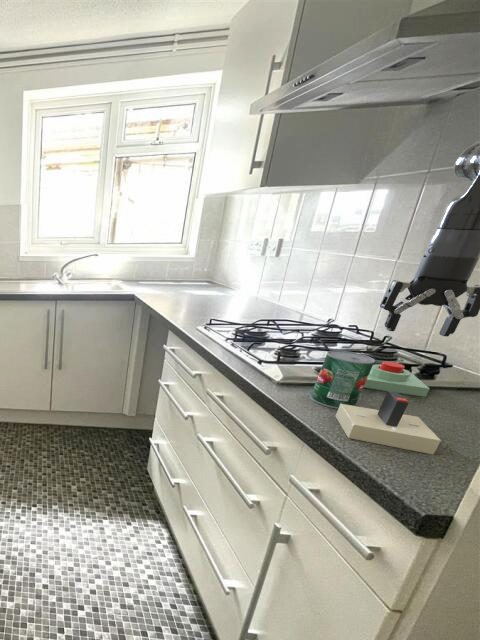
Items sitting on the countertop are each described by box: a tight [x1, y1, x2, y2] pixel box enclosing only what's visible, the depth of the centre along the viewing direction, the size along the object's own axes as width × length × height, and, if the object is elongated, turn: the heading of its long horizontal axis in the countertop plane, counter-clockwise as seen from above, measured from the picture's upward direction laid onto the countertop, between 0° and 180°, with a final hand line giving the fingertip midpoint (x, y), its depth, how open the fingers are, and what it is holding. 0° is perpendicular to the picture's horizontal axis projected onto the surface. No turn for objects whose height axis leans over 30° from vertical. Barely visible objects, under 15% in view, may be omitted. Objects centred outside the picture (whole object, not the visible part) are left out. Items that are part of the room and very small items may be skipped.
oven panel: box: [335, 404, 442, 456], centre depth 80 cm, size 12×10×3 cm
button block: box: [363, 363, 430, 398], centre depth 102 cm, size 12×10×4 cm
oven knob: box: [378, 391, 409, 427], centre depth 78 cm, size 5×2×5 cm, turn 152°
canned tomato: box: [309, 350, 376, 410], centre depth 91 cm, size 8×8×11 cm
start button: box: [380, 361, 405, 373], centre depth 101 cm, size 4×4×2 cm
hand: (416, 332), depth 88 cm, fingers open, 8 cm apart
